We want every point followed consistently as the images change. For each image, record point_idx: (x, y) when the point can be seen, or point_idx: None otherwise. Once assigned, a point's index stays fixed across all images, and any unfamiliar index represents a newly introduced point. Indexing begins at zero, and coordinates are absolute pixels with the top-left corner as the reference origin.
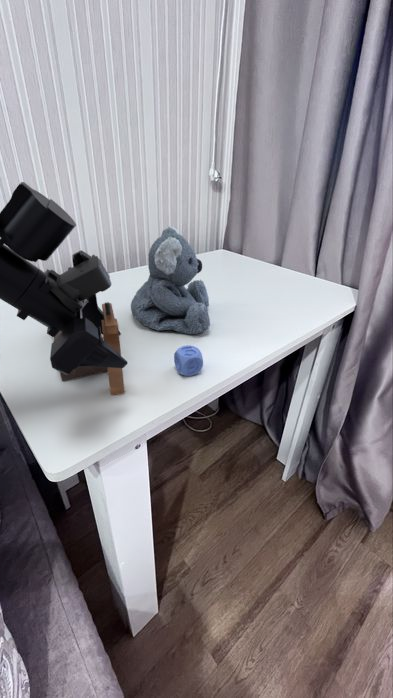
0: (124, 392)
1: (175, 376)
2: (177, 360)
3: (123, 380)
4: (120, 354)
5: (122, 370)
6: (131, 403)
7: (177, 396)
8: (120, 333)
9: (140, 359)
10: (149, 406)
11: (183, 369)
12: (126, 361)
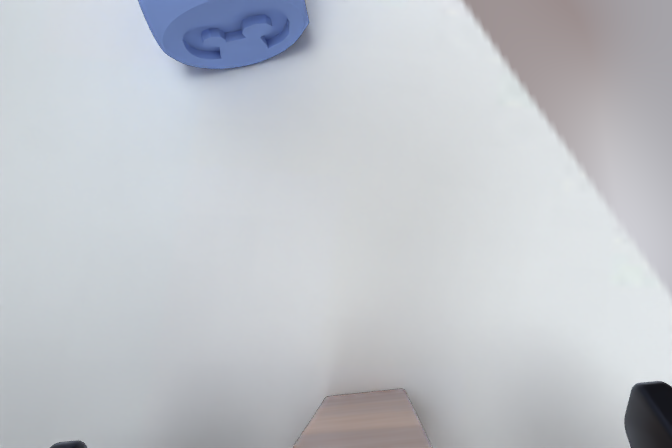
0: (404, 390)
1: (288, 84)
2: (214, 33)
3: (409, 400)
4: (430, 443)
5: (412, 411)
6: (500, 351)
7: (468, 93)
8: (72, 442)
9: (76, 278)
10: (536, 251)
11: (306, 11)
12: (659, 389)
